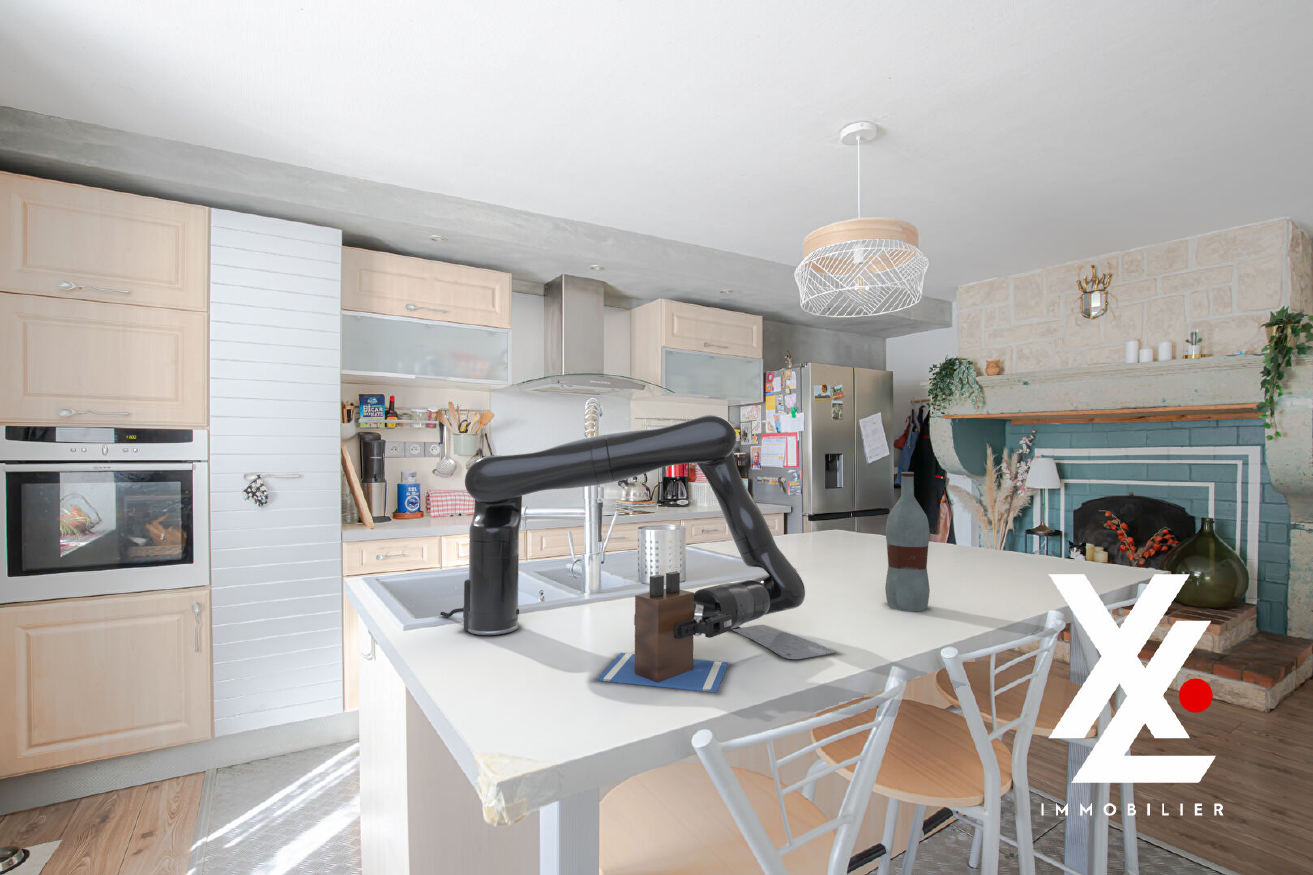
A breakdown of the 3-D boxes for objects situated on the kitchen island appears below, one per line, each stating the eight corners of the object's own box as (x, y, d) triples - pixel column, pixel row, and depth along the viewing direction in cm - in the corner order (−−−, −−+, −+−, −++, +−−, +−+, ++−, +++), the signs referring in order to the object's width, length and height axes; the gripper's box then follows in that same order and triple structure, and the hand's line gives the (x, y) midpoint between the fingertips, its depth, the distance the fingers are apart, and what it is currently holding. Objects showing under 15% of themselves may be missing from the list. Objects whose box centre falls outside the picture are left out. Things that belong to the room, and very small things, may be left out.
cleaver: (737, 612, 133) (697, 617, 129) (737, 609, 133) (697, 615, 129) (837, 653, 107) (791, 661, 103) (837, 650, 107) (791, 658, 103)
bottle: (908, 600, 146) (908, 471, 146) (939, 609, 137) (939, 472, 138) (876, 603, 143) (876, 471, 143) (905, 613, 134) (906, 473, 134)
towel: (597, 680, 94) (597, 677, 94) (621, 655, 106) (621, 652, 106) (716, 692, 90) (716, 689, 90) (727, 664, 101) (727, 662, 101)
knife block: (634, 673, 96) (635, 575, 96) (670, 661, 102) (670, 568, 102) (657, 682, 92) (658, 580, 93) (693, 669, 98) (694, 573, 98)
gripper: (691, 578, 112) (623, 593, 101) (756, 592, 102) (690, 609, 91) (690, 621, 112) (623, 640, 101) (756, 638, 102) (689, 662, 91)
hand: (655, 625), depth 96 cm, fingers open, 8 cm apart
